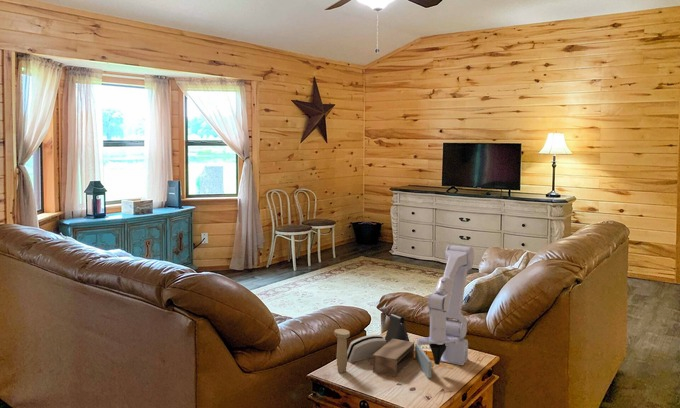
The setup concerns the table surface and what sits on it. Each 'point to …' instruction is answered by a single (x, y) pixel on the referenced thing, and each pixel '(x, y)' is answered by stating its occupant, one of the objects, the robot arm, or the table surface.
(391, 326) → the phone stand
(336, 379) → the table surface
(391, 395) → the table surface
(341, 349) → the handle
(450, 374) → the table surface
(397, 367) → the cabinet
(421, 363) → the door
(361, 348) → the grey curved piece
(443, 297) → the robot arm
